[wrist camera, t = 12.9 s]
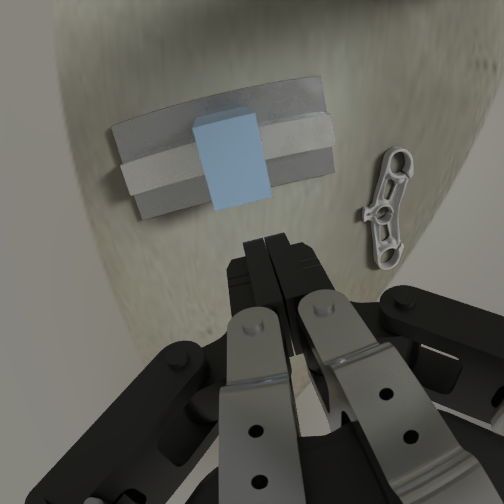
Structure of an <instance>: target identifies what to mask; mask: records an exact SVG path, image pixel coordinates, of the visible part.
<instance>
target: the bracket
mask: <svg viewBox="0 0 504 504" xmlns="http://www.w3.org/2000/svg"><path fill="white" fill-rule="evenodd" d="M397 152H402V153H403V154H404V157H405V165H404V167H403V169H402V171H403V172H404V174H403V173H401V172H400V171H399V172H397V173H392V171H391V169H390V161H391V158H392V157H393V155H394V154H395V153H397ZM413 174H414V172H413V158H412V155H411V154H410V153H409V152H408V151H407V150H405V149H403V148H401V147H398V146H395V147H391V148H390V149H388V150H387V152H386V153H385V154H384V158H383V162H382V166H381V172H380V176H379V179H378V182H377V186H376V189H375V193H374V197H373V201H372V203H371V204H370V205H369V206H367V207H363V209H362V219H363V221H364V222H366V221H367V220H370V221H371V232H372V239H373V254H374V261H375V263H376V264H377V265H378V266H379V267H380V268H381V269H383V270H389V269H391V268H393V267H394V266H396V265H397V263H398V262H399V260H400V257H401V254H402V251H403V243H402V242H401V241H400V238H399V224H398V214H399V206H400V203H401V200H402V198H403V195H404V192H405V188H406V184H407V182H408V179H407V177H408V178H411V177H412V176H413ZM406 176H407V177H406ZM389 179H391V180H393V181H394V187H393V189H392V192H391V194H390V196H389V199H388V200H387V199H384V198H383V196H384V192H385V187H386V182H387V181H388V180H389ZM389 201H390V204H389V203H388V202H389ZM386 206H387V209H388V211H387V212H386V214H385V216H384V217H383V218H381V219H376V217H375V216H374V215H373V214H372V213H374V214H377V212H378V210H379V209H380V208H382V207H386ZM375 224H376V225H375ZM385 224H387V228H388V232H389V236H388V238H387V239H386V240H384V241H381V240H380V226H381V225H385ZM391 248H394V249H395V251H394V254H393V256H392V257H391V259H390V260H388V261H387V262H383V263H382V262H380V257H381V255H382V254H383V253H384V252H385V251H386V250H387V249H391Z"/></svg>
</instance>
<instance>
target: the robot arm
mask: <svg viewBox="0 0 504 504" xmlns="http://www.w3.org/2000/svg"><path fill="white" fill-rule="evenodd" d="M264 239H265V243H264V240H263V238H260V239H256V240H252V241H247V242H243V246H244V251H245V257H241V258H237V259H233V260H231V262H230V264H229V266H228V268H227V279H228V287H229V297H230V306H231V315H232V318H231V320H230V321H229V323H228V326H227V332H226V333H225V334H224V335H223V336H222V337H221V338H219V339H218V340H216V341H215V342H213V343H211V344H208V345H206V346H204V347H202V348H201V347H200V346H199V345H198V344H197V343H195V342H192V341H178V342H175V343H172V344H170V345H168V346H166V347H165V348H164V349H163V350H161V351H160V352H159V354H158V355H157V356H156V357H155V358H154V359H153V360H152V361H151V362H150V363H149V364H148V365H147V366H146V368H145V369H144V370H143V371H142V372H141V373H140V374H139V375H138V376H137V377H136V378H135V379H134V380H133V382H132V383H131V384H130V385H129V386H128V387H127V388H126V389H125V390H124V391H123V392H122V393H121V395H120V396H119V397H118V398H117V399H116V400H115V401H114V402H113V403H112V404H111V405H110V406H109V408H108V409H107V410H106V411H105V412H104V413H103V414H102V415H101V416H100V417H99V418H98V419H97V421H95V423H94V424H93V425H92V426H91V427H90V428H89V429H88V430H87V431H86V432H85V433H84V435H82V437H81V438H80V439H79V440H78V441H77V442H76V443H75V444H74V445H73V446H72V447H71V449H69V451H68V452H67V453H66V454H65V455H64V456H63V457H62V458H61V459H60V460H59V461H58V462H57V464H56V465H55V466H54V467H53V468H52V469H51V470H50V471H49V472H48V473H47V474H46V475H45V477H44V478H43V479H42V480H41V481H40V482H39V483H38V484H37V485H36V486H35V487H34V488H33V489H32V491H31V492H30V493H29V494H28V496H27V498H26V500H25V504H165V503H166V502H167V501H168V500H169V498H170V497H171V496H172V495H173V494H174V492H175V491H176V490H177V489H178V487H179V486H180V485H181V483H182V482H183V481H184V480H185V479H186V477H187V476H188V475H189V473H190V472H191V471H192V470H193V468H194V467H195V466H196V464H197V463H198V462H199V460H200V459H201V458H202V456H203V455H204V454H205V452H206V451H207V450H208V449H209V447H210V446H211V444H212V443H213V442H214V440H215V439H216V438H217V436H218V435H219V466H218V467H217V468H215V469H214V470H213V471H212V472H210V473H209V474H208V475H207V476H206V477H205V478H204V479H203V480H202V481H201V482H200V483H199V485H198V486H197V487H196V489H195V490H194V492H193V493H192V494H191V496H190V497H189V499H188V500H187V501H186V503H185V504H504V317H503V316H501V315H498V314H495V313H492V312H489V311H486V310H483V309H480V308H477V307H474V306H471V305H468V304H464V303H462V302H459V301H456V300H453V299H450V298H446V297H443V296H440V295H437V294H434V293H431V292H428V291H425V290H422V289H419V288H415V287H412V286H407V285H400V286H395V287H392V288H389V289H388V290H386V291H385V292H384V293H383V294H382V296H381V297H380V302H370V303H357V302H352V301H349V300H348V298H347V297H346V296H345V295H344V294H342V293H341V292H338V291H335V289H334V287H333V285H332V283H331V281H330V280H329V278H328V276H327V274H326V272H325V270H324V269H323V267H322V265H321V263H320V262H319V260H318V258H317V256H316V254H315V253H314V251H313V249H312V248H311V247H309V246H308V245H306V244H304V243H303V242H301V243H297V244H293V245H290V243H289V241H288V239H287V237H286V235H285V233H280V234H276V235H271V236H267V237H264ZM265 244H266V246H265ZM290 337H291V338H290ZM291 340H292V343H293V347H294V350H295V353H296V355H299V354H302V353H303V354H304V357H305V360H306V364H307V371H308V375H309V377H310V379H311V382H312V384H313V386H314V389H315V391H316V393H317V396H318V398H319V400H320V403H321V405H322V407H323V410H324V412H325V415H326V417H327V419H328V422H329V425H330V430H331V433H329V434H327V435H324V436H310V437H301V433H300V427H299V421H298V415H297V409H296V403H295V397H294V391H293V385H292V379H291V373H292V368H291V363H290V359H289V357H291V356H294V353H293V348H292V343H291ZM421 344H423V345H426V346H429V347H431V348H434V349H436V350H439V351H442V352H444V353H447V354H450V355H452V356H455V357H457V358H459V360H456V359H453V358H450V357H448V356H445V355H442V354H440V353H437V352H434V351H432V350H429V349H427V348H424V347H421ZM432 401H434V402H436V403H438V404H441V405H443V406H446V407H448V408H450V409H453V410H456V411H458V412H460V413H463V414H465V415H468V416H471V417H473V418H476V419H478V420H481V421H484V422H486V423H489V424H491V427H492V430H493V432H492V431H490V430H488V429H485V428H483V427H481V426H478V425H476V424H474V423H471V422H469V421H467V420H465V419H462V418H460V417H458V416H455V415H453V414H451V413H448V412H445V411H442V410H439V409H436V407H435V405H434V404H433V402H432Z"/></svg>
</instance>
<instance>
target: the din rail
mask: <svg viewBox="0 0 504 504" xmlns="http://www.w3.org/2000/svg"><path fill="white" fill-rule="evenodd" d="M243 106H244V107H246V108H248V109H249V110H251V111H253V112H254V113H255V115H256V120H257V124H258V129H259V134H260V138H261V143H262V148H263V153H264V157H265V162H266V167H267V172H268V177H269V182H270V187H272V186H276V185H280V184H285V183H289V182H294V181H298V180H303V179H308V178H312V177H317V176H322V175H327V174H331V173H335V169H334V161H333V153H332V146H335V139H334V131H333V124H332V117H331V114H329V113H327V111H326V104H325V98H324V92H323V86H322V81H321V76H314V77H306V78H299V79H292V80H286V81H280V82H274V83H268V84H262V85H257V86H252V87H247V88H242V89H237V90H233V91H228V92H224V93H220V94H215V95H211V96H207V97H203V98H199V99H196V100H192V101H188V102H184V103H181V104H177V105H174V106H170V107H167V108H164V109H160V110H157V111H154V112H151V113H148V114H145V115H142V116H139V117H136V118H133V119H130V120H127V121H124V122H121V123H119V124H116V125H113V126H111V128H112V132H113V135H114V138H115V141H116V144H117V148H118V151H119V154H120V157H121V160H122V164H121V165H120V167H121V170H122V173H123V176H124V179H125V182H126V184H127V187H128V190H129V193H130V196H132V195H134V198H135V201H136V203H137V206H138V209H139V212H140V214H141V217H142V220H145V219H148V218H152V217H155V216H159V215H162V214H166V213H169V212H173V211H177V210H180V209H184V208H188V207H191V206H195V205H199V204H203V203H207V202H210V201H212V198H211V195H210V191H209V188H208V184H207V181H206V177H205V173H204V170H203V166H202V162H201V159H200V155H199V151H198V148H197V144H196V140H195V137H194V133H193V129H192V127H193V124H194V121H195V118H198V117H202V116H206V115H210V114H214V113H218V112H222V111H226V110H230V109H234V108H239V107H243Z"/></svg>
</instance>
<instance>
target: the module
mask: <svg viewBox="0 0 504 504" xmlns="http://www.w3.org/2000/svg"><path fill="white" fill-rule="evenodd" d="M192 129H193V133H194V137H195V140H196V144H197V148H198V151H199V155H200V159H201V162H202V166H203V170H204V173H205V177H206V181H207V184H208V188H209V191H210V195H211V198H212V202H213V206H214V209H215V211H218V210H222V209H226V208H230V207H234V206H238V205H242V204H246V203H250V202H254V201H258V200H262V199H266V198H271V197H272V192H271V187H270V182H269V177H268V172H267V167H266V162H265V157H264V153H263V148H262V143H261V138H260V134H259V129H258V124H257V120H256V115H255V113H254V112H253V111H251V110H249V109H248V108H246V107H244V106H243V107H239V108H234V109H230V110H226V111H222V112H218V113H214V114H210V115H206V116H202V117H198V118H195V121H194V124H193V127H192Z"/></svg>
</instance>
